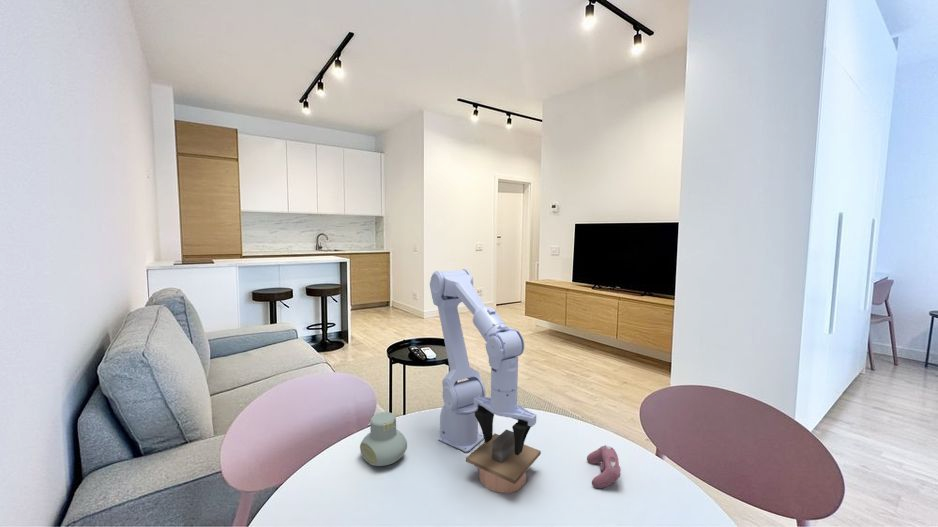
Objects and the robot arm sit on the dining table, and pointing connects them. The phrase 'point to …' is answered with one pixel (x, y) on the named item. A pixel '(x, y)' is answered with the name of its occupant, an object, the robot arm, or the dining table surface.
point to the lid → (503, 457)
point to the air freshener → (383, 441)
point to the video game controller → (605, 466)
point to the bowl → (500, 482)
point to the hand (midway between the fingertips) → (503, 446)
